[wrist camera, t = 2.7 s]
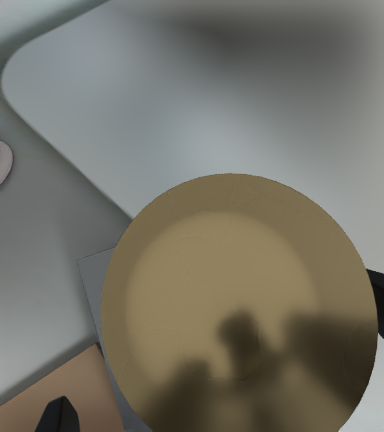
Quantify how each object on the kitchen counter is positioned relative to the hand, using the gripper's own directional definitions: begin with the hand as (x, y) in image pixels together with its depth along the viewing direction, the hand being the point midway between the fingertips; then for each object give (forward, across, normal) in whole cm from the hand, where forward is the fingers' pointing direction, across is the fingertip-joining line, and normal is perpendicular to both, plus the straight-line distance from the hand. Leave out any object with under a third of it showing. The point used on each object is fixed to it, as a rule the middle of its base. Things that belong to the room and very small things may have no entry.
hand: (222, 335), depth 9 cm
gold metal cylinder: (+7, 0, +6) cm, 9 cm away
